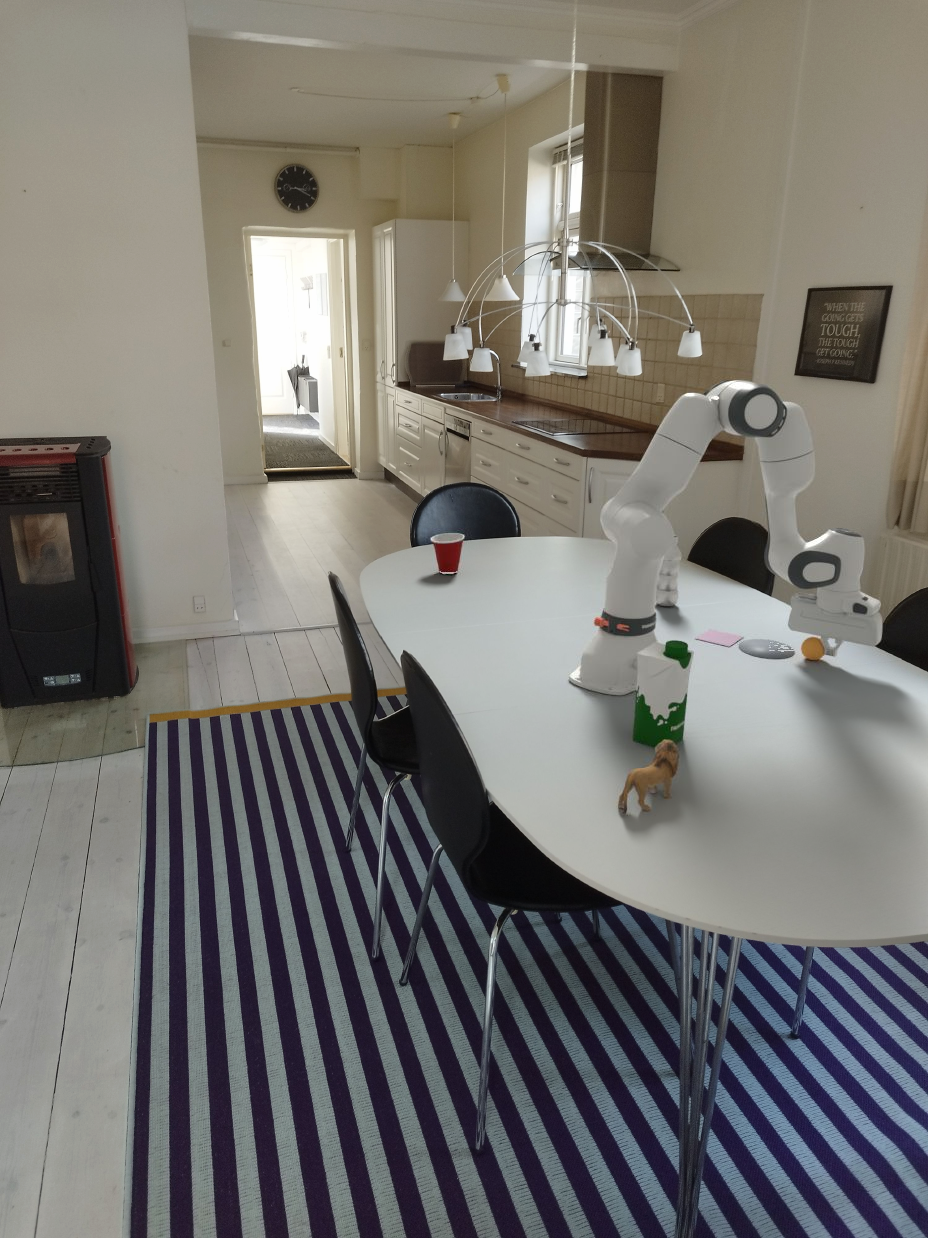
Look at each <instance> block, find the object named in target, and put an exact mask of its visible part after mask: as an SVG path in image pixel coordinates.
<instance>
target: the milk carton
mask: <svg viewBox="0 0 928 1238" xmlns="http://www.w3.org/2000/svg"><path fill="white" fill-rule="evenodd" d="M694 653H695V652H694V650H693V651H692V650H690V649H689V644H688V643H687V642H686V641H682V640H676V639H675V640H667V641H666V642H665V644H663V643H660V642H659V643H654V644H652V645H650V646H649V647H647V648H645V649H643V650H642V651H640V652H638V653H637V662H638V674H637V688H636V690H635V703H634V717H633V728H632V729H633V730H632V731H633V732H632V741H634V742H637V743H640V744H643V745H646V746H649V747H652V748H655V747H656V746H657V745H658V744H659V743H661V742H662V741H663V740H664V739H665V740H671V741H673V742H674V743H675V745H676V744H678V743H679V742H680V741H682V740H683V739H684V732H685V722H686V711H687V703H688V701H687V700H688V690H689V680H690V672H691V668H692V663H693V658H694Z"/></svg>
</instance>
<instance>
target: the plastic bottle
mask: <svg viewBox="0 0 928 1238" xmlns="http://www.w3.org/2000/svg"><path fill="white" fill-rule="evenodd" d="M678 543H679V536H678V535H675V534H674V542H673V545H672V547H671V549H670V550H669V551H668V553H667V554H665V556H664V559H663V562H662V565H661V569H660V572H659V576H658V580H657V588H656V599H655V605H656V604H657V605H658V606H662V607H674V606H675V605H676V604H677V603H678V600H679V590H678V589H679V588H678V576H679V575H678V574H679V571H680V565H681V560H682V552H681V550H680V549H679V547H678V545H677V544H678Z"/></svg>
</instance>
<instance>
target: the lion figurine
mask: <svg viewBox="0 0 928 1238" xmlns="http://www.w3.org/2000/svg"><path fill="white" fill-rule="evenodd" d="M679 752H680V749H679V748H678V746H677V745H676V744H675V743H674V742H673V741H671V740H665V739H664V740H663V741H662V742H661V743H659V744H658V745H657V746H656V747H654V758H653V762H652V763H651V764H650V765H649V766H646V767H643V768H642V767H640V768H639V767H637V768H634V769H632V770H631V771H630V772H629V773H628V774H627V777H626V780H625V784H624V786H623V787H624V788H623V790H622V793H620V795H619V797H618V805H617V807H618V808H620V809H623V810H622V815H623V816H625V815H626V814H627V812H628V796H629V795H628V794H629V793H630V792H631V791H632V789H634V788H635V791H636V793H637V795H638V800H637V803H638V805H639V807H640V808H641V809H642V810H643V811H647V812H648V811H650V808H651V807H650V806H649V805H648V804H645V799H646V797H647V796H646V795H647V794H648V793H647V792H648V791H649V792H650V793H652V794H656V793H657V791H658V790H657V786H659V785H660V784H662V783H663V784H664V785H663V787H664V788H663V789H664V790H663V791H662V792H663V796H664V798H667V799H670V798H672V794H671V792H670V789H671V787H672V786H671V785H672V778H674V777H675V776H676V775H677V771H678V768H679V762H680V761H679V758H680V753H679ZM648 788H649V789H648Z"/></svg>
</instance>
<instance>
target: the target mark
mask: <svg viewBox="0 0 928 1238" xmlns="http://www.w3.org/2000/svg"><path fill="white" fill-rule="evenodd" d="M770 642H771V643H770ZM772 642H773V643H772ZM780 642H781V641H776V640H771V639H765V638H764V639H762V638H757V639H756V638H752V639H746V640H742V641H740V642H739V643H738V646H739V647H738V648H739V650H740V651H741V652H743V653H745V654H746V655H747V654H748V655H749V656H753V657H755V658H756V657H757V658H760V659H768V660H769V658H773V660H775V659H774V658H782V659H788V658H790V656H791V657H792V656H794V655H795V650H794V648H793V647H792V646H790V645H788V644H786V643H784V642H781V643H780ZM777 643H779V644H777ZM769 645H770V646H769ZM774 645H778V646H774ZM781 645H787V646H784V647H788V648H789V649H783V648H780V647H781ZM769 647H771V648H769ZM778 648H780V649H778ZM791 648H793V649H791ZM769 650H775V651H769ZM778 650H794V651H784V652H781V651H778ZM793 654H794V655H793ZM787 657H788V658H787Z"/></svg>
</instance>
